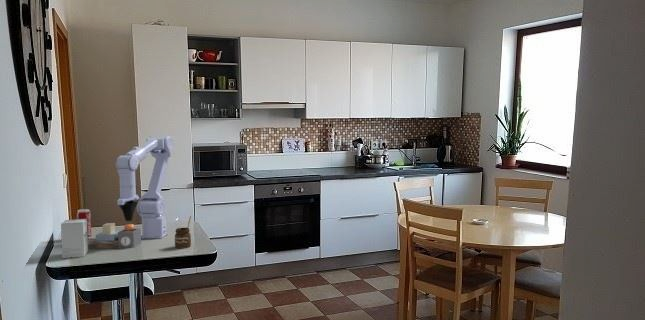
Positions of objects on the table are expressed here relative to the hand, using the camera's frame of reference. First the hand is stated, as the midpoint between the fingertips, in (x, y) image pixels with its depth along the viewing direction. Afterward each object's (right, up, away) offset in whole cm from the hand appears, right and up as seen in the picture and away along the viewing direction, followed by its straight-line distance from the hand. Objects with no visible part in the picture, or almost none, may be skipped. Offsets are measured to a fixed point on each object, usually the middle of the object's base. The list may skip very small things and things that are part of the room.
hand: (128, 220), depth 181 cm
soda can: (-25, -10, +15) cm, 30 cm away
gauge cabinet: (0, -10, +1) cm, 10 cm away
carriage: (-8, -7, 0) cm, 11 cm away
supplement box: (-14, -11, -13) cm, 22 cm away
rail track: (-11, -10, +1) cm, 15 cm away
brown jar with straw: (+22, -10, -2) cm, 24 cm away
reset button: (0, -4, 0) cm, 4 cm away
